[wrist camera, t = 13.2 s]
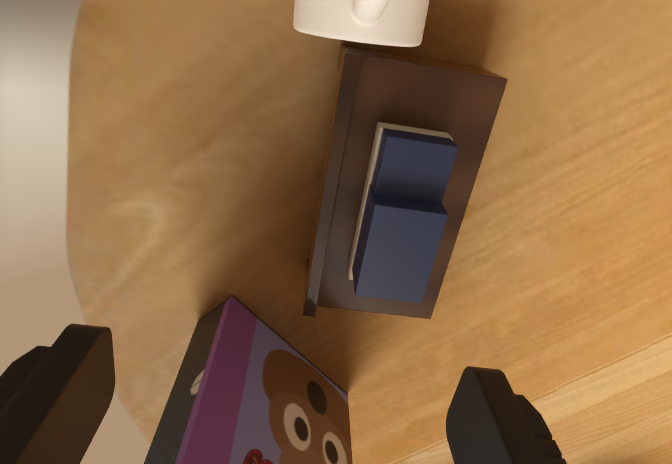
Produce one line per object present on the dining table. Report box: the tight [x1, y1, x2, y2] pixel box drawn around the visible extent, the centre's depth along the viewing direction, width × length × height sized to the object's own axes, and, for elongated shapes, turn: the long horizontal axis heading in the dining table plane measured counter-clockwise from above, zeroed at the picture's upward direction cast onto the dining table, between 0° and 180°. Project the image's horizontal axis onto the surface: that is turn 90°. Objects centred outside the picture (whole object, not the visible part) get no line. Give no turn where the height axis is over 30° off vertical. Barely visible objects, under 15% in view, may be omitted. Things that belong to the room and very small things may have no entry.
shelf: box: [303, 44, 507, 319], centre depth 35 cm, size 20×11×6 cm, turn 171°
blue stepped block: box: [347, 122, 458, 303], centre depth 32 cm, size 12×5×5 cm, turn 171°
